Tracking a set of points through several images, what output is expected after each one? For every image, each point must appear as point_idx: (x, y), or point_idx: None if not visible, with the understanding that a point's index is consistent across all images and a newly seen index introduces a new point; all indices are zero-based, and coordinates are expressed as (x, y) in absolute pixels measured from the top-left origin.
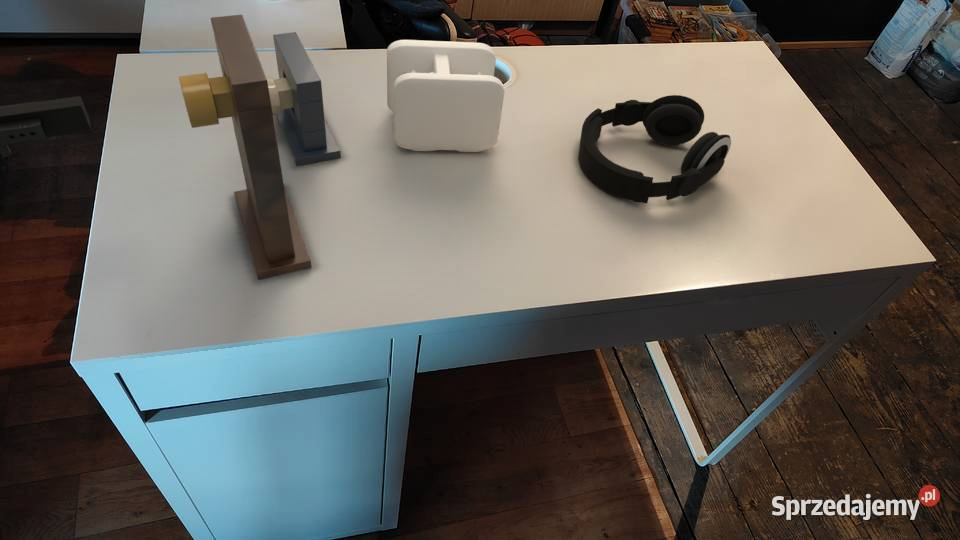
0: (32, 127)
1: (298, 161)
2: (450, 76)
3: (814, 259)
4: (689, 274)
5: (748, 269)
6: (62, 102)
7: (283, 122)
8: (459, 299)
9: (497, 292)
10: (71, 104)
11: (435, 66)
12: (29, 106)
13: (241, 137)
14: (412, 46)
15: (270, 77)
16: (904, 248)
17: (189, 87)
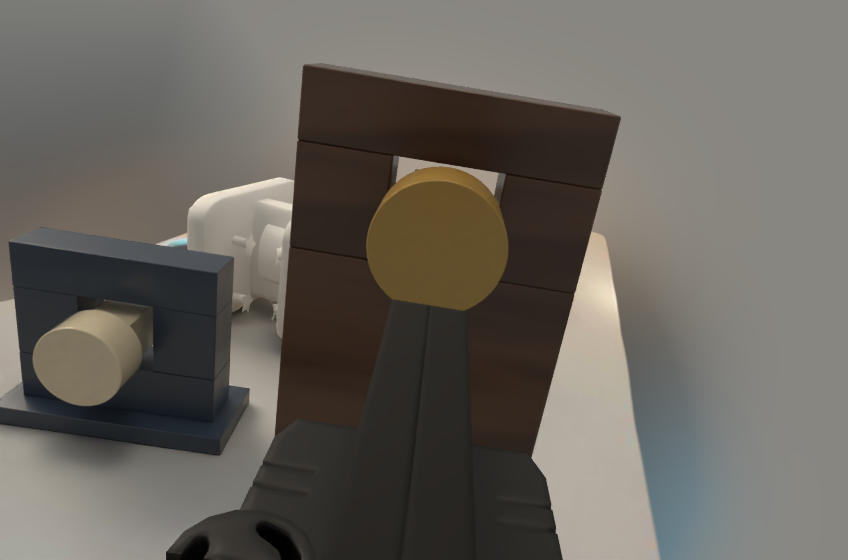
0: (546, 489)
1: (221, 442)
2: None
3: (596, 257)
4: (602, 297)
5: (602, 278)
6: (420, 335)
7: (90, 415)
8: (614, 419)
9: (606, 390)
10: (445, 325)
11: (282, 210)
12: (402, 419)
13: (537, 277)
14: (232, 196)
15: (88, 311)
16: (593, 234)
17: (477, 188)
